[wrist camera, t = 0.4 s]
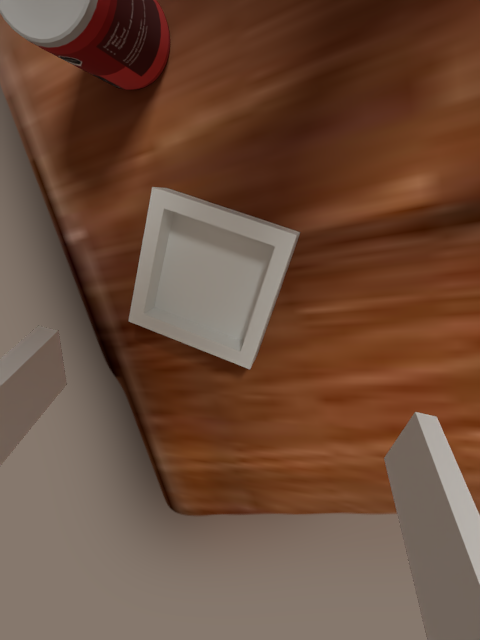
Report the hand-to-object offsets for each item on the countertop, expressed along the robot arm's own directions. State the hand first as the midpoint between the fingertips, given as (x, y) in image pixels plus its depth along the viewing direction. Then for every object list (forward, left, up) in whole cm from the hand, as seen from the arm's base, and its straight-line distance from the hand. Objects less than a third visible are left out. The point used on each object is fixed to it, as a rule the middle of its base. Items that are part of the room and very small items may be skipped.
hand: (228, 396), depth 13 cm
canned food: (-15, -21, -24) cm, 35 cm away
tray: (+3, -8, -23) cm, 25 cm away
